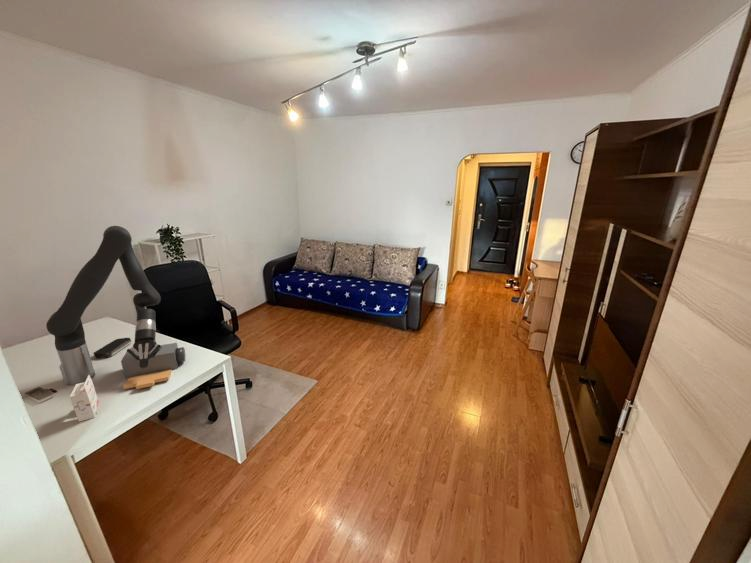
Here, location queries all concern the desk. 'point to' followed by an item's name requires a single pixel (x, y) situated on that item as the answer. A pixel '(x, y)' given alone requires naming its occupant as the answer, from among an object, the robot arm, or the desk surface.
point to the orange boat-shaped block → (147, 379)
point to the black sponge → (112, 347)
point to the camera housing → (154, 361)
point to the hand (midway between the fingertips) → (143, 367)
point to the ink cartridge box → (84, 400)
